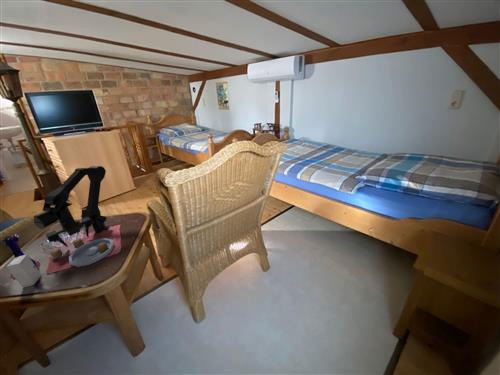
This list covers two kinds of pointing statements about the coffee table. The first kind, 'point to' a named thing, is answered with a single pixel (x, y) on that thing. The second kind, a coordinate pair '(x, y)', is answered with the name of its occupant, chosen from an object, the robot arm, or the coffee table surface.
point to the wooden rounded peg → (102, 247)
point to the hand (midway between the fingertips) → (77, 241)
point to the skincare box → (24, 271)
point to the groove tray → (89, 253)
